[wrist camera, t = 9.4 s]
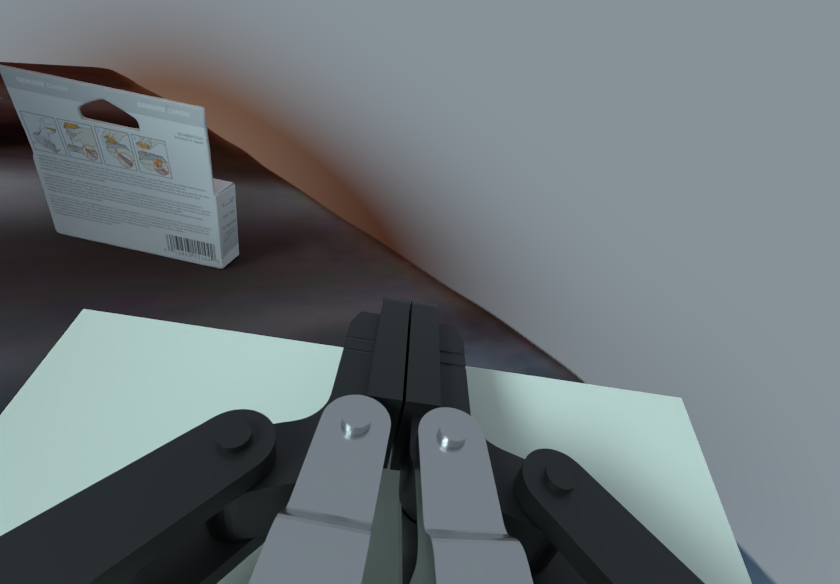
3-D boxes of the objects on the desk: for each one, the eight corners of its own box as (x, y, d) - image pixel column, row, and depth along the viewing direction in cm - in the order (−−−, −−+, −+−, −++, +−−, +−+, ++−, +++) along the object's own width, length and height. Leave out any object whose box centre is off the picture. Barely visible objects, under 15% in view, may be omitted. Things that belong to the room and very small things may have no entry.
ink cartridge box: (84, 220, 28) (37, 59, 23) (242, 255, 28) (231, 101, 23) (52, 235, 26) (-8, 61, 21) (223, 273, 26) (206, 108, 21)
